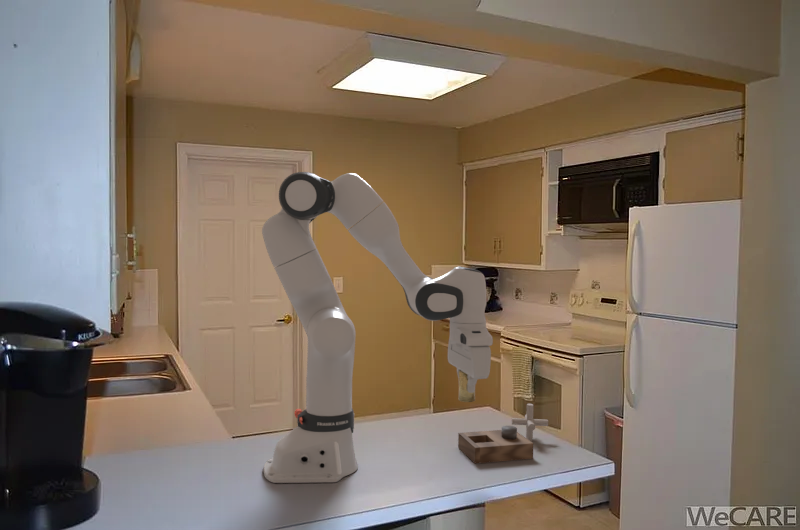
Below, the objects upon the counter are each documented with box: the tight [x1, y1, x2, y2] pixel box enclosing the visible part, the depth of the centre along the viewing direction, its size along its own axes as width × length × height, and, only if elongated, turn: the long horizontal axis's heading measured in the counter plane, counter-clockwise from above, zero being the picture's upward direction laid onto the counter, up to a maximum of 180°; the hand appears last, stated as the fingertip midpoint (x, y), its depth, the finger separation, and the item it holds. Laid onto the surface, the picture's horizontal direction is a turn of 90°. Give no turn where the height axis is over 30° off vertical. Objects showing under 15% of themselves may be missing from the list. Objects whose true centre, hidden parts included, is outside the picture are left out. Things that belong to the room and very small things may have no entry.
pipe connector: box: [511, 403, 549, 442], centre depth 170 cm, size 10×10×10 cm
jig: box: [457, 425, 534, 465], centre depth 158 cm, size 16×12×6 cm
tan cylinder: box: [458, 370, 476, 403], centre depth 148 cm, size 4×4×7 cm
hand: (466, 389), depth 148 cm, fingers closed on tan cylinder, 4 cm apart
